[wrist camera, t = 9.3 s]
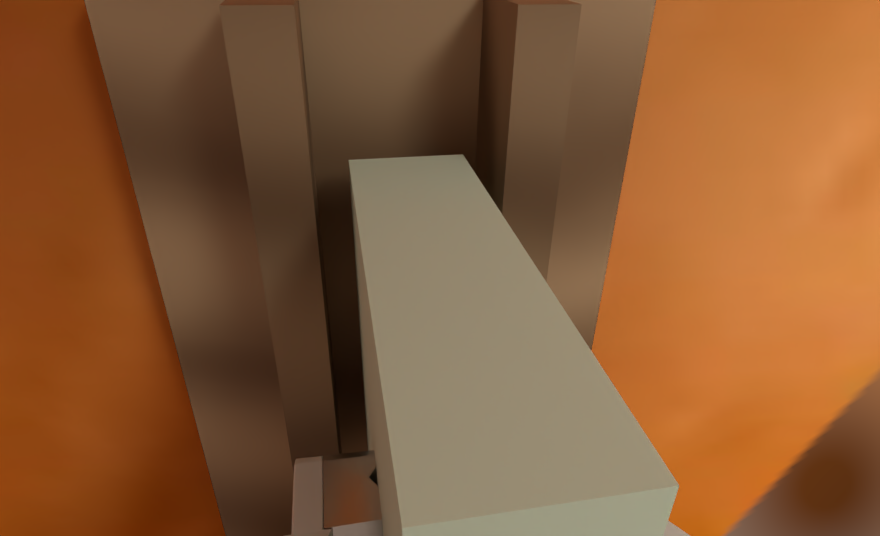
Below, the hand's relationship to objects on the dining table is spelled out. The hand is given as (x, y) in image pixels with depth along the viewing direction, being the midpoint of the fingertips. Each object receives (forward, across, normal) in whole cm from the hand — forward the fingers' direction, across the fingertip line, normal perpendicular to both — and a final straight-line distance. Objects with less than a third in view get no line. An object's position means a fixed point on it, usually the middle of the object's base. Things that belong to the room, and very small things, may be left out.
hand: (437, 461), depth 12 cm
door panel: (+4, 0, 0) cm, 4 cm away
